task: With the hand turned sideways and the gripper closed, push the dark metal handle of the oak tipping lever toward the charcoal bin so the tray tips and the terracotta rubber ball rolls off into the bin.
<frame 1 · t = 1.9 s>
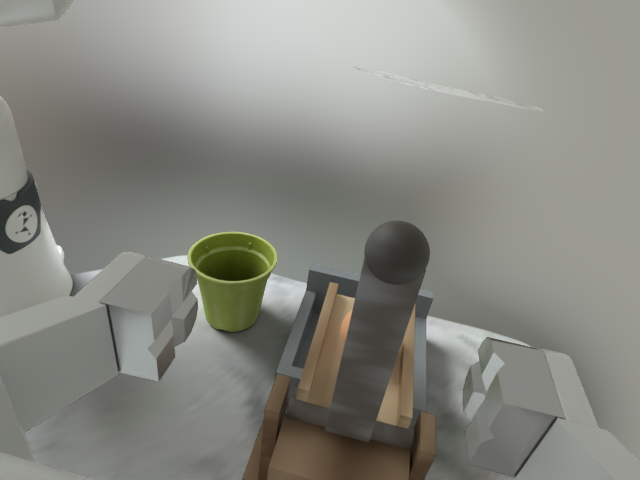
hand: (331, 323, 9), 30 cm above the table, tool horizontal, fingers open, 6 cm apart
plant pot: (231, 315, 51), on the table
ball: (366, 331, 33), point 13 cm above the table, touching launcher
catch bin: (352, 364, 47), on the table
launcher: (378, 291, 30), point 18 cm above the table, hinge at 0.0°, touching ball
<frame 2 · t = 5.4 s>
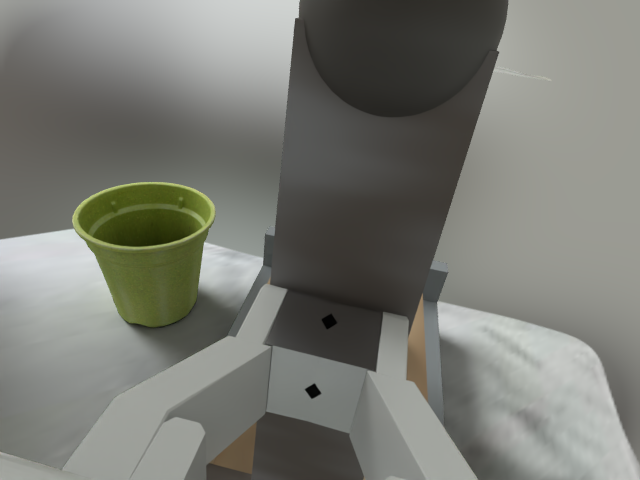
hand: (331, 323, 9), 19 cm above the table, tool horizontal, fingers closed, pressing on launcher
plant pot: (157, 303, 36), on the table
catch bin: (329, 372, 32), on the table
launcher: (357, 234, 15), point 17 cm above the table, hinge at -3.6°, touching ball, gripper
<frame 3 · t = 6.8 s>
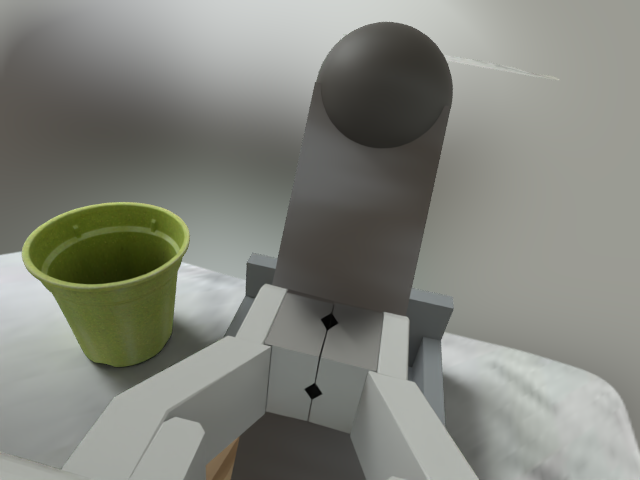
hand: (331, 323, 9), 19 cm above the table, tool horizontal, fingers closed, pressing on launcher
plant pot: (128, 337, 32), on the table
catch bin: (318, 421, 28), on the table
launcher: (334, 334, 16), point 14 cm above the table, hinge at -33.5°, touching gripper
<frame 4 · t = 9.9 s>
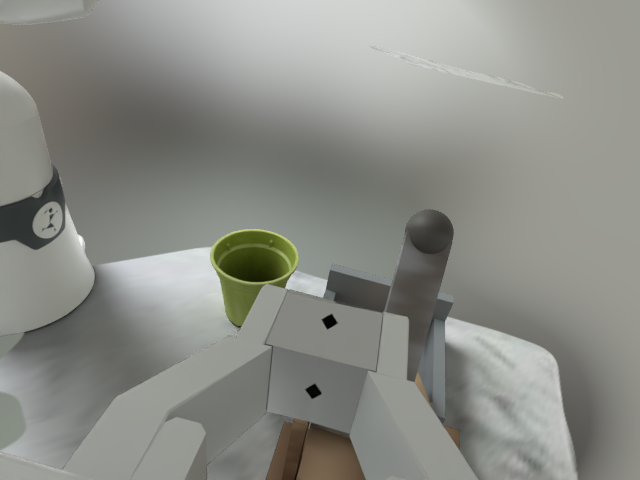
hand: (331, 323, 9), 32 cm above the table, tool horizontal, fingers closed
plant pot: (251, 311, 52), on the table
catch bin: (370, 364, 48), on the table
launcher: (397, 314, 35), point 14 cm above the table, hinge at -33.8°
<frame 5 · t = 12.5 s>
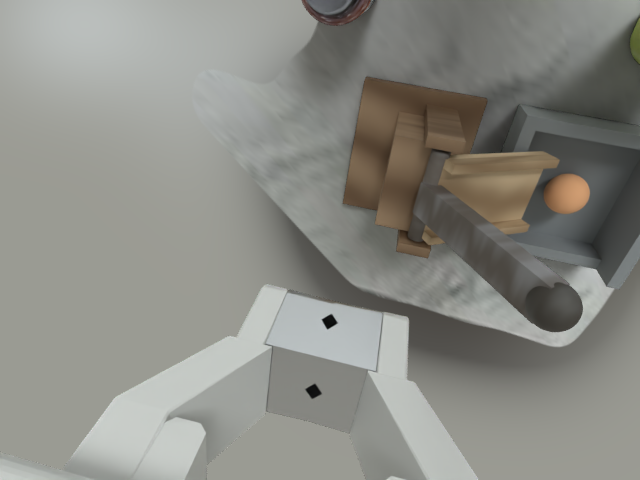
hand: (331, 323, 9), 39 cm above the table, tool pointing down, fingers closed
ball: (566, 193, 43), point 3 cm above the table, tilted 107°, touching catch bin
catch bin: (559, 182, 45), on the table
launcher: (533, 237, 34), point 14 cm above the table, hinge at -33.8°
lever stand: (408, 153, 47), on the table
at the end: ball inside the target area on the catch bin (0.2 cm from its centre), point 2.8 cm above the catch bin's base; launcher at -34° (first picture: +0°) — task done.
